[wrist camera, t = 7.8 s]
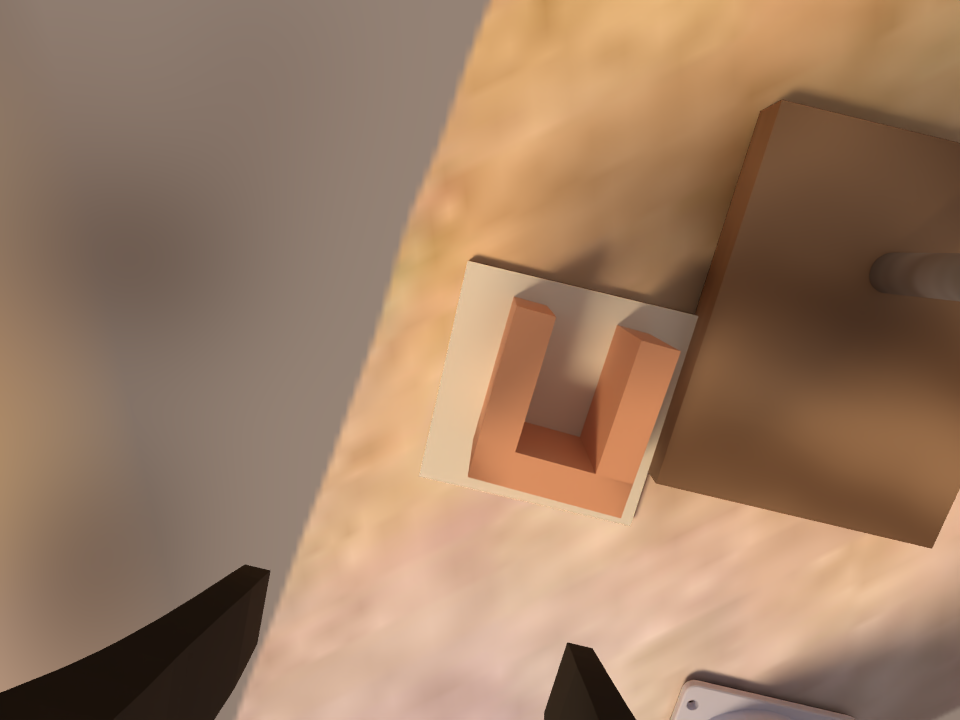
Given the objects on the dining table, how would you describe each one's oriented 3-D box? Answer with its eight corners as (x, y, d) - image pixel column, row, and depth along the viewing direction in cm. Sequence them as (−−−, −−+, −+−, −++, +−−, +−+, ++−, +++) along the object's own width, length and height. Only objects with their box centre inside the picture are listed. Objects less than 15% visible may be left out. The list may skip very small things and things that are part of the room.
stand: (903, 528, 22) (1034, 619, 16) (645, 467, 22) (693, 539, 16) (1056, 183, 19) (1277, 157, 14) (760, 111, 19) (864, 55, 13)
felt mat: (628, 521, 22) (630, 526, 22) (420, 472, 22) (419, 476, 22) (694, 314, 20) (698, 316, 20) (468, 260, 20) (467, 260, 20)
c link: (600, 474, 21) (620, 518, 18) (473, 439, 21) (467, 477, 18) (649, 333, 20) (680, 351, 17) (513, 296, 20) (516, 305, 17)
